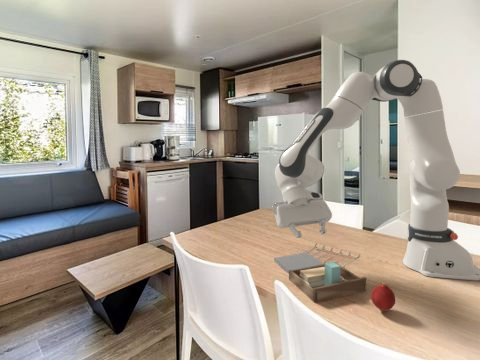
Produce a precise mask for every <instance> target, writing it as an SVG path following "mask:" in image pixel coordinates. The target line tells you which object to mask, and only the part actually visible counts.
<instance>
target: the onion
mask: <svg viewBox="0 0 480 360" xmlns="http://www.w3.org/2000/svg"><path fill="white" fill-rule="evenodd" d="M370 299H371V302H372V304H373V305H374V306H375V307H376V308H377V309H378V310H379V311H381V312H386V311H389V310H391V309H393V307H395V305H396V301H397V300H396V299H397V298H396V294H395V293H394V291H393V290H392V289H391V287H390V286H388V285H387V284H386V283H385V282H380V284H378V285H377V286H375V287H374V288H373V289H372V291H371V293H370Z"/></svg>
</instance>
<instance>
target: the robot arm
mask: <svg viewBox="0 0 480 360" xmlns="http://www.w3.org/2000/svg"><path fill="white" fill-rule="evenodd" d="M395 99H396V100H397V101H398V102H399V103H400V104H401V106H402V108H403V115H404V123H405V124H404V125H405V130H406V135H407V141H408V144H409V148H410V151H411V153H412V157H413V159H412V160H411V161H410V163H409V166H408V172H409V173H408V175H409V176H408V177H409V180H408V181H409V194H410V212H409V213H410V215H409V224H408V227H407V237H406V238H407V246H406V249H405V254H404V257H403V258H402V263H403V265H404V266H405V267H408V268H409V269H411V270H413V271H416V272H419V273H420V274H422V275H423V276H426V277H430V278H443V279H455V280H467V281H480V268H479V267H478V266H477V265H476V264H474V260H473V257H472V255H471V253H470V252H469V251H468V250H467V249H466V248H465V247H463V246H462V245H461V244H459V243H458V242H457V241H456V240H457V239H458V238H459V235H458V234H457V233H456V232H455V231H454V230H452V229H451V228H449V227H448V226H449V225H448V224H449V223H448V222H449V211H450V210H449V209H450V206H449V202H448V197H447V190H448V189H451V188H453V187H454V186H455V185H456V184H458V182H459V180H460V177H461V171H460V169H459V166H458V164H457V162H456V160H455V154H454V152H453V149H452V146H451V143H450V140H449V136H448V133H447V127H446V121H445V114H444V107H443V101H442V98H441V94H440V91H439V89H438V86H437V84H436V82H434V80H432V79H428V78H423V75H421V74H420V72H419V71H418V69H417V67H416V66H415V65H414V64H413V63H412V62H411V61H409V60H406V59H398V60H392V61H390V62H389V63H387V64H386V65H384V66H383V67H381V68H380V69H379V70H378V71H377V72H376V73H374V74H373V75H371V74H369V73H367V72H364V71H355V72H352V73H351V74H350V75H348V77H347V78H346V79H345V80H344V81H343V83H342V84H341V85H340V87H339V88H338V89H337V91H336V92H335V94H334V95H333V97H332V98H331V100H330V101H329V103H328V104H327V105H326V106H325V107H322V108H320V109H319V110H318V111H317V112H316V113H315V114H314V115H313V116H312V117H311V119H309V121H308V122H307V124H306V125H305V126H304V127H303V129H302V130H301V131H300V133H299V134H298V136H297V137H296V138H295V139H294V140H293V142H292V143H291V144H290V145H289V146H288V147H286V148H285V149H284V151H282V153H281V154H280V156H279V158H278V159H279V160H278V164H277V165H276V166H275V169H274V177H275V178H274V179H275V181H276V184H277V187H278V189H279V191H280V192H281V195H282V196H281V197H282V200H283V201H281V202H275V203H274V204H272V206H271V208H272V209H271V210H272V212H273V214H274V217H275V221H276V226H277V227H278V228H279V229H286V228H288V230H289V231H290V232H291V233H292V234H294V236H295V239H299V238H302V237H303V234H302V232H301V230H298V229H297V228H296V227H301V226H302V227H303V226H309V225H315V224H318V225H319V226H320V229H319V230H318V232H319V233H320V235H325V234H327V229H326V225H327V224H326V223H328V222H330V220H331V219H332V217H333V213H332V211H331V209H330V207H329V205H328V204H327V202H326V201H325V200H324V199H322V198H323V195H322V194H321V193H320V192H315V191H311V190H307V189H306V188H308V187H310V186H312V185H314V184H316V183H318V182H319V181H321V180H322V178H323V176H324V172H325V166H324V163H323V162H322V160H320V159H318V158H316V157H315V156H314V155H313V156H312V155H311V154H309V152H310V150H311V149H312V148H313V146H314V145H315V144H316V143H317V141H318V140H319V139H320V138H321V136H322V135H323V134H324V133H325V132H327V131H329V130H346V129H348V128H351V127H352V126H353V125H355V123H357V121H358V120H359V119H360V118H361V115H362V114H363V112H364V110H365V109H366V107H367V106H368V104H369V103H370V102H371V101H377V102H384V103H385V102H390V101H392V100H393V101H394V100H395Z"/></svg>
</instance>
